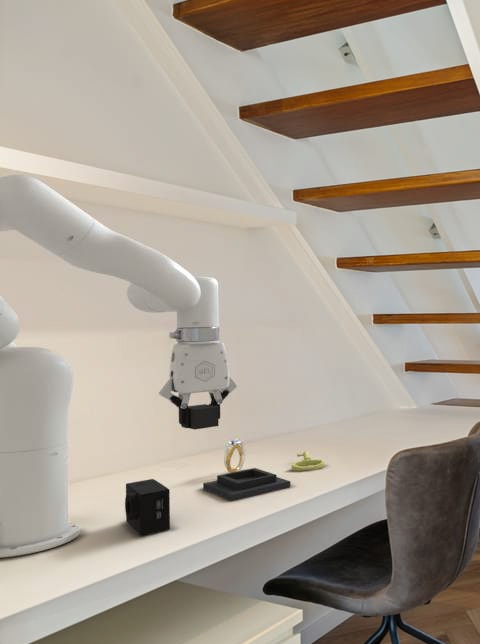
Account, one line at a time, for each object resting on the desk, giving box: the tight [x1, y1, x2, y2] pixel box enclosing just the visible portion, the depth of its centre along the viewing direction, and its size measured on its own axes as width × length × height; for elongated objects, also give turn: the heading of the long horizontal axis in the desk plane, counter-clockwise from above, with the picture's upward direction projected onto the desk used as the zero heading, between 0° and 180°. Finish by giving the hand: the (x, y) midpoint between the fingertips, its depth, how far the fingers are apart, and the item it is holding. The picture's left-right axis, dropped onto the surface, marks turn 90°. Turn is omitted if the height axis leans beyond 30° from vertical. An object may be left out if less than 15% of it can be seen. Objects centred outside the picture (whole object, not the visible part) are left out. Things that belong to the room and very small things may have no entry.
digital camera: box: [124, 478, 171, 537], centre depth 102 cm, size 10×5×7 cm, turn 46°
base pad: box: [202, 467, 291, 502], centre depth 125 cm, size 12×14×3 cm
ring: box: [223, 438, 246, 473], centre depth 138 cm, size 7×3×8 cm, turn 173°
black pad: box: [188, 403, 220, 430], centre depth 121 cm, size 5×6×4 cm
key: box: [291, 450, 325, 472], centre depth 144 cm, size 7×12×2 cm, turn 43°
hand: (200, 424), depth 121 cm, fingers closed on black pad, 4 cm apart
